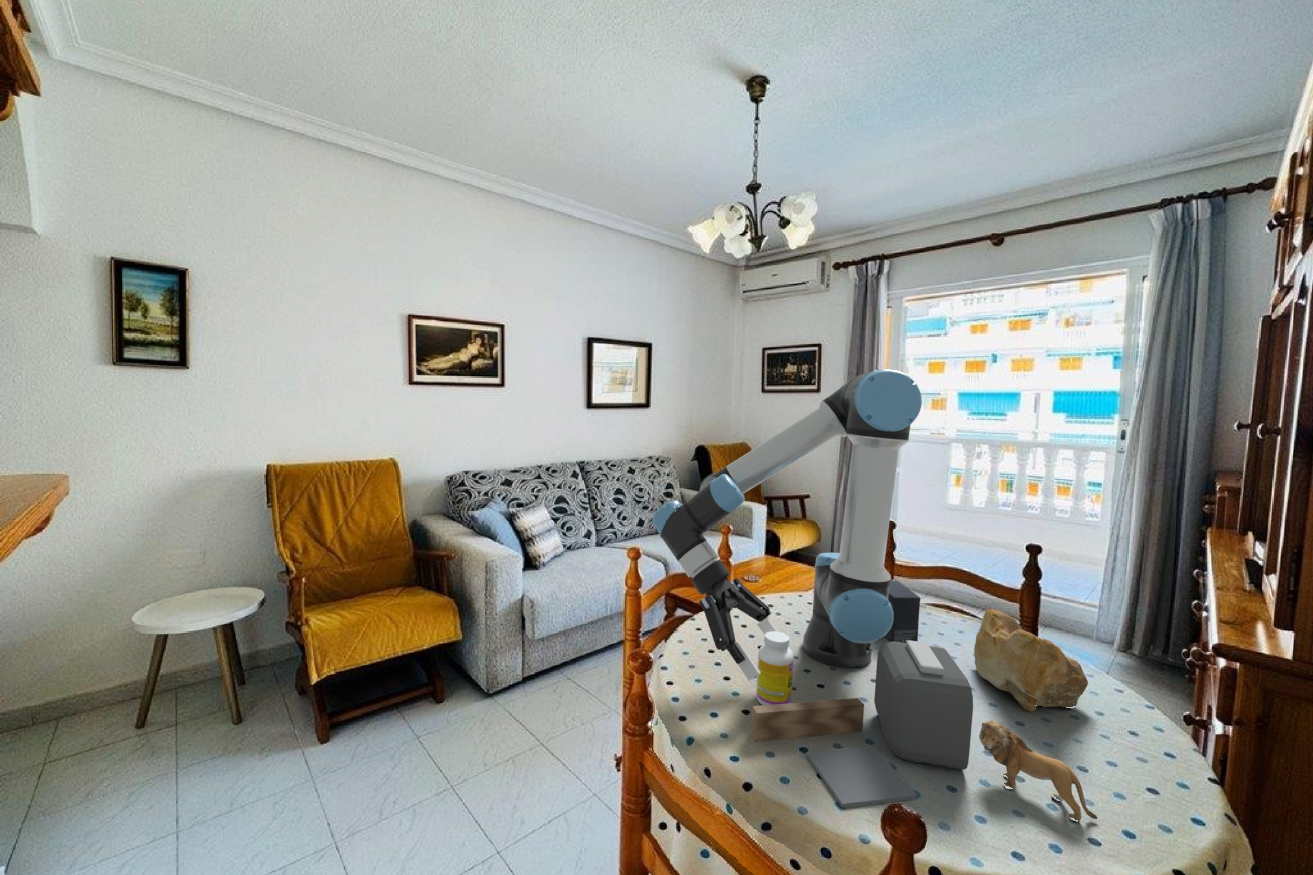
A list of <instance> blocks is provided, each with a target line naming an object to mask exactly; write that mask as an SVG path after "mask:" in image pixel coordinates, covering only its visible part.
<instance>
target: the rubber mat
mask: <svg viewBox="0 0 1313 875" xmlns="http://www.w3.org/2000/svg"><path fill="white" fill-rule="evenodd" d="M805 756H806V758H807V760H809V762H810V763H811V766H812V767H813V768H814V769H815V771H816V773H818V775H819V776H820V778H821V780H822V781H823V783H824V784H825V785H826V787H827V789H828V790H829V791H830V793H831V794H832V795H833V797H834V798H835V800H836V801H837V803H838V805H839V806H840V807H841V808H842V809H843V808H852V807H853V808H854V807H861V806H870V805H877V804H887V803H893V802H901V801H902V800H903V801H910V800H917V798H918V797H917V796H918V795H917V793H916V792H915V791H914V790H913V788H911V787H910V786H909V785H908V783H907V782H906V781H905V780H904V779H903V778H902V776H900V774H899V773H898V772H897V771H896V770H895V769H894V768H893V766H892V765H891V764H889V762H888V761H887V760H886V759H885V757H883V756H882V754H881V753H880V752H879V751H878V750H877V749H876V748H875V746H874V745H866V746H857V747H855V746H854V747H844V748H835V749H826V750H825V749H824V750H814V751H813V750H812V751H806V752H805Z"/></svg>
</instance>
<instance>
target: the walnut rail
mask: <svg viewBox="0 0 1313 875" xmlns="http://www.w3.org/2000/svg"><path fill="white" fill-rule="evenodd" d="M864 712H865V703H863V701H862V700H861V699H859V698H858V697H854V698H853V697H851V698H841V699H828V700H815V701H804V702H802V701H800V702H791V703H788V704H775V705H762V704H761V705H753V706H752V712H751V726H750V727H751V730H750V735H751V736H752V739H754V742H763V741H774V740H784V739H785V740H786V739H797V738H807V737H808V738H810V737H819V736H828V735H831V736H832V735H840V734H841V735H842V734H851V733H862V732H863V728H864V727H863V726H864V716H865V715H864Z"/></svg>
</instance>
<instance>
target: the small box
mask: <svg viewBox="0 0 1313 875" xmlns="http://www.w3.org/2000/svg"><path fill="white" fill-rule="evenodd" d="M888 600H889V602H890V603H891V605H892V609H893V614H894V620H893V624H892V627H891V629H890V630H889V632H888V633H887V634H886V635H885V636H884V638H885V639H886V640H887V642H901V643H906V641H907V640H910V641H918V639H919V637H918V636H919V622H920V621H919V620H920V607H921V597H920V596H919V595H917V594H916V593H915V592H914V591H912V590H910V589H909V588H908V587H907V586H905V585H904V584H903V583H901V582H899V580H897V579H896V578H891V579H890V588H889V596H888ZM918 642H919V641H918Z"/></svg>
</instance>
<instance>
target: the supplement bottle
mask: <svg viewBox="0 0 1313 875" xmlns="http://www.w3.org/2000/svg"><path fill="white" fill-rule="evenodd" d="M777 631H778V630H777ZM777 631H770V632H767V633H765V635H764V637H763V638H764V639H763V641H764V644H763V645H761V646H760V647H759V649H758V654H757V655H758V656H757V667H758V669H759V670H760V672H761V673H760V674H759V675H757V676H756V691H755V692H756V693H755V696H756V699H757V702H759V703H760V704H761V706H762V705H775V704H788V703H792V693H793V676H794V675H793V674H794V657H795V656H794V653H793V651H792V650H791V649H790V648H789V646H790V636H789V635H787V633H784V632H782V631H778V632H777Z"/></svg>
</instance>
